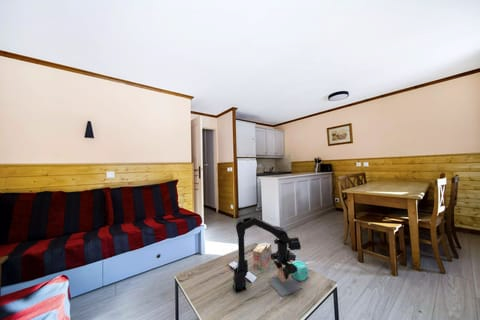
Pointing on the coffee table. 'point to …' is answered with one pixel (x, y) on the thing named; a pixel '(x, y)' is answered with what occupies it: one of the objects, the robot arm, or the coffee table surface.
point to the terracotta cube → (282, 275)
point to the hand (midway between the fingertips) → (283, 276)
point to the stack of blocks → (261, 255)
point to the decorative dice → (300, 271)
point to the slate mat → (284, 286)
